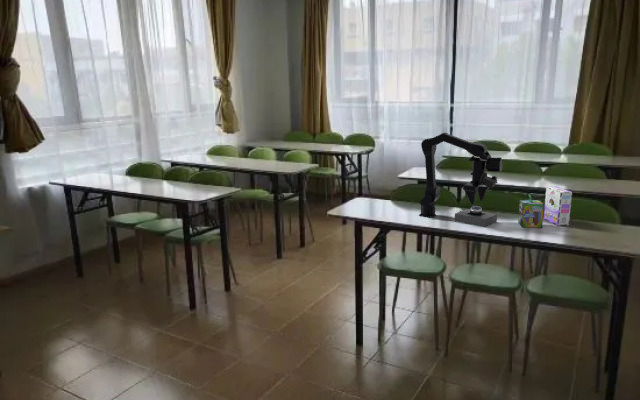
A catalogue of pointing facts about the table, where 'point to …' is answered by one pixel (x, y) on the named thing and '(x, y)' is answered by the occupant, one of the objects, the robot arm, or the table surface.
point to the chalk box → (530, 213)
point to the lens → (476, 211)
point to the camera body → (476, 218)
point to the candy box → (557, 206)
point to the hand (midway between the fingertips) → (477, 202)
